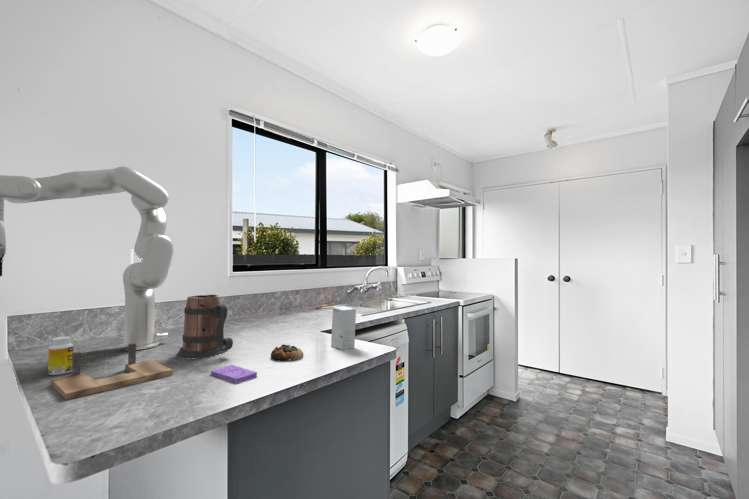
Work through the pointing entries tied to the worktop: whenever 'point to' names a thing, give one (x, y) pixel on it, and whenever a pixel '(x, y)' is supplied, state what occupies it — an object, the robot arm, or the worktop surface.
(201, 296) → the tankard
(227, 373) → the sponges
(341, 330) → the skincare box
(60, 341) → the supplement bottle
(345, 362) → the worktop surface
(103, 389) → the shelf board
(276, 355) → the bread roll
